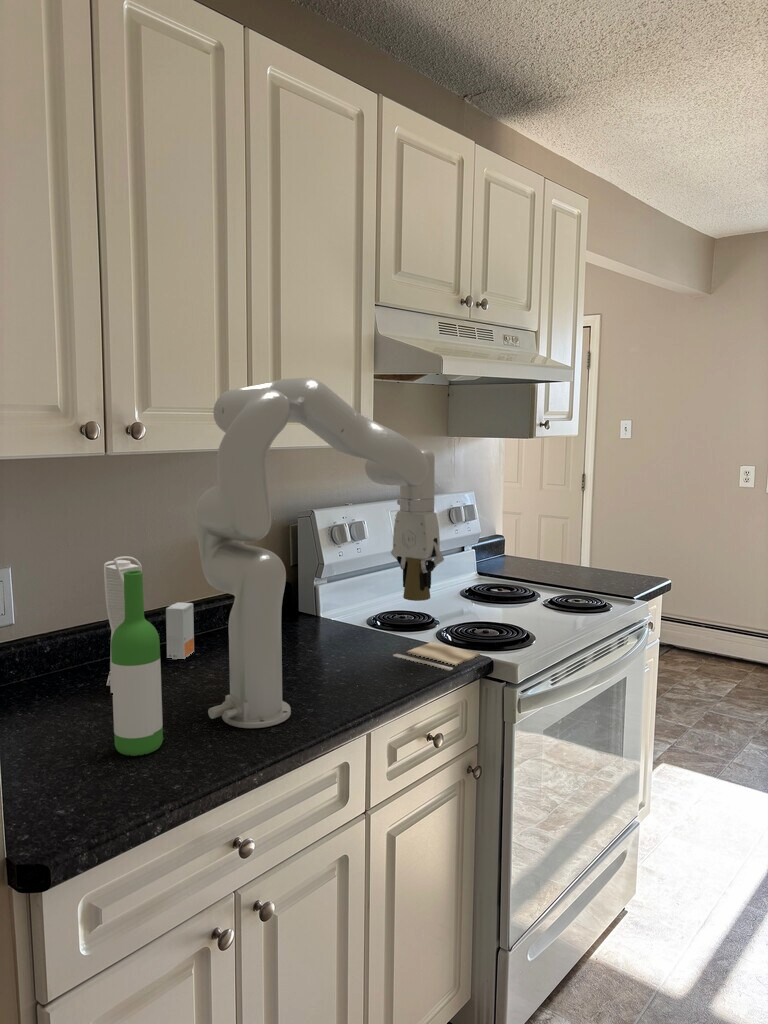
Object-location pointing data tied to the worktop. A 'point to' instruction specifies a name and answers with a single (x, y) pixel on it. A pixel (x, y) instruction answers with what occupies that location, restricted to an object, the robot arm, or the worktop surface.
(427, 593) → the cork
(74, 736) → the worktop surface
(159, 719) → the wine bottle
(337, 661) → the worktop surface
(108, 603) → the skyscraper
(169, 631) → the skincare box
